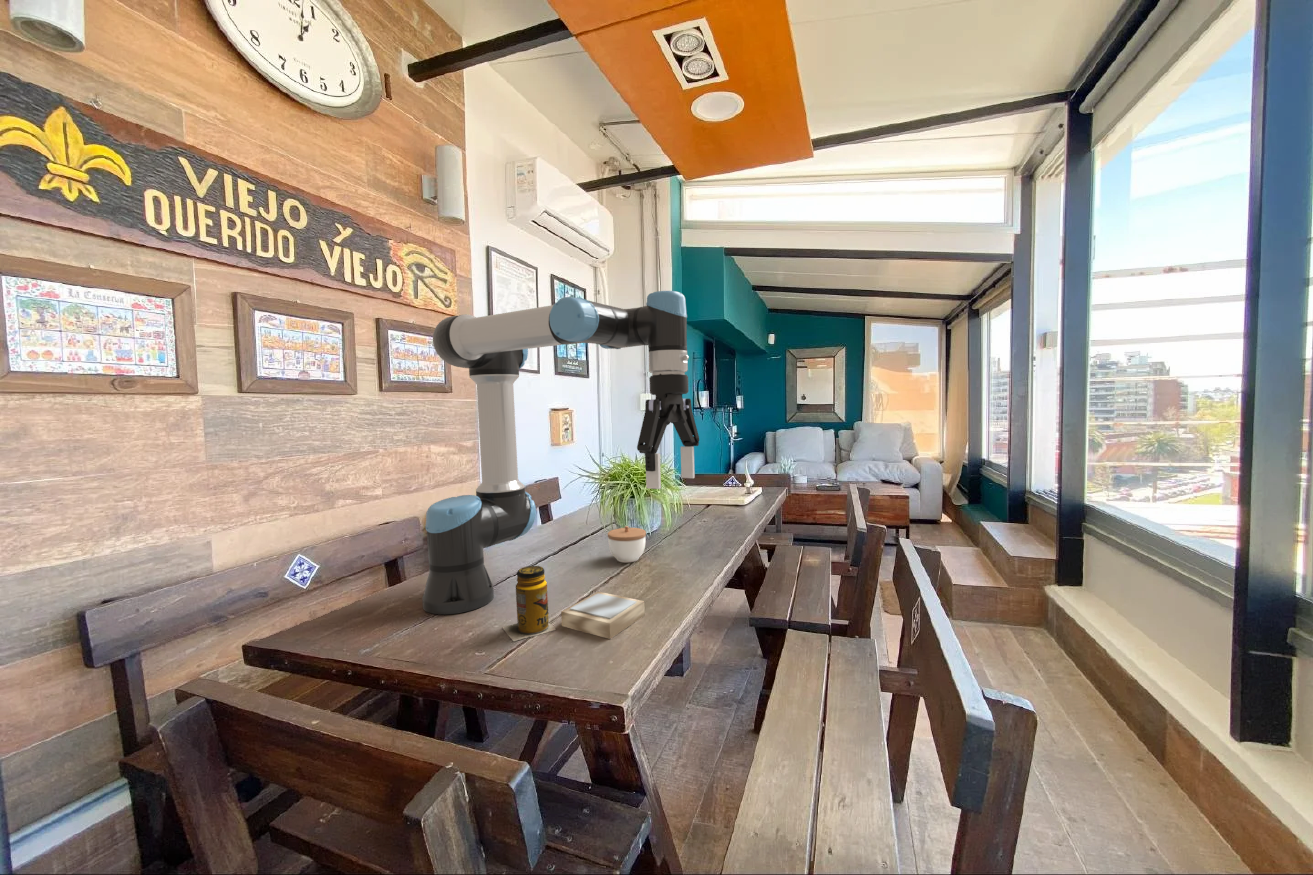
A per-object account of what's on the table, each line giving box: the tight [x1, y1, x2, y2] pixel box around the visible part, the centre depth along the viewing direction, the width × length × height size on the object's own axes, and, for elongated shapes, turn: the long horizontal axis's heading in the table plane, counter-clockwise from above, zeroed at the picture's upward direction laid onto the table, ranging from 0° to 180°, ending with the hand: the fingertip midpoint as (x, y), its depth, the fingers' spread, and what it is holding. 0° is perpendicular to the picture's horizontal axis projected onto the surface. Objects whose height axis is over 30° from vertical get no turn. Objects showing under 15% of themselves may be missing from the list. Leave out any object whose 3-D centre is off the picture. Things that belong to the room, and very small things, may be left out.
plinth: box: [560, 591, 646, 640], centre depth 104 cm, size 12×12×3 cm
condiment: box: [501, 565, 556, 642], centre depth 101 cm, size 7×8×12 cm
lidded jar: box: [607, 525, 647, 564], centre depth 145 cm, size 11×11×9 cm
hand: (671, 483), depth 101 cm, fingers open, 13 cm apart
